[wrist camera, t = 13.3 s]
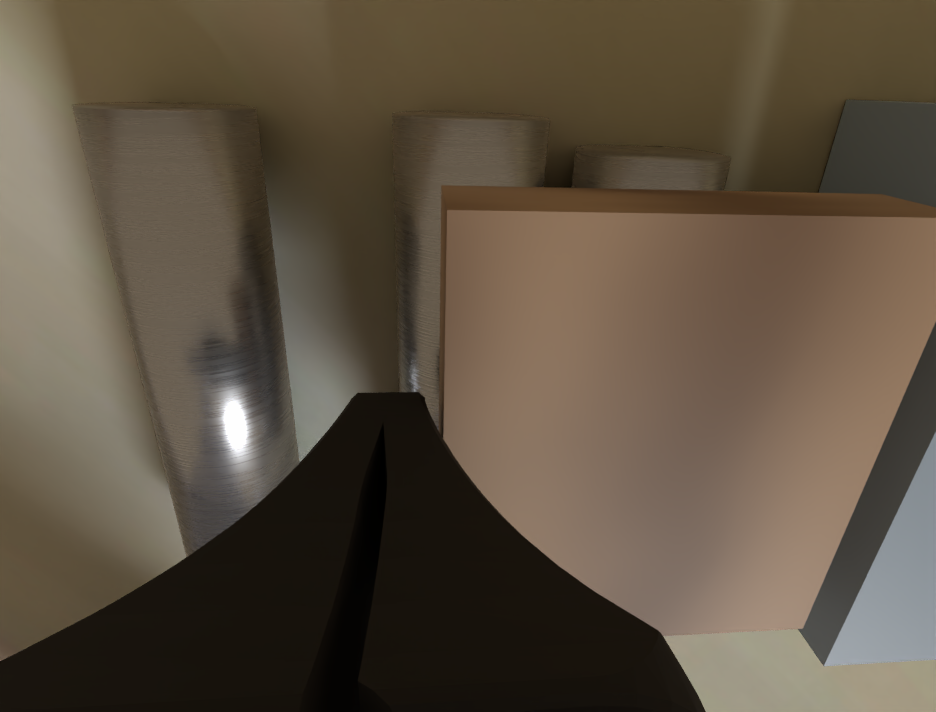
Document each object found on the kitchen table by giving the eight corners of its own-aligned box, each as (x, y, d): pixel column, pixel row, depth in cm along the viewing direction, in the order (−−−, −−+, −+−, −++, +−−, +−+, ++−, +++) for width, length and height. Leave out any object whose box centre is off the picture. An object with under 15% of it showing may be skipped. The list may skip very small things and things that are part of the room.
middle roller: (452, 494, 18) (532, 542, 16) (380, 547, 15) (462, 609, 14) (463, 110, 13) (579, 119, 11) (358, 112, 11) (482, 123, 9)
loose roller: (629, 496, 17) (653, 574, 14) (531, 490, 17) (536, 567, 14) (702, 147, 13) (756, 165, 10) (568, 142, 13) (587, 158, 10)
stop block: (720, 517, 18) (823, 666, 13) (846, 99, 12) (1088, 111, 8) (840, 513, 18) (979, 657, 14) (1011, 105, 13) (1331, 119, 8)
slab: (436, 572, 13) (440, 647, 12) (441, 185, 9) (447, 209, 8) (754, 559, 14) (802, 628, 12) (881, 193, 10) (981, 218, 8)
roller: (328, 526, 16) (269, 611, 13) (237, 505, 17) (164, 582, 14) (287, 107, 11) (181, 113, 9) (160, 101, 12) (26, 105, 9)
